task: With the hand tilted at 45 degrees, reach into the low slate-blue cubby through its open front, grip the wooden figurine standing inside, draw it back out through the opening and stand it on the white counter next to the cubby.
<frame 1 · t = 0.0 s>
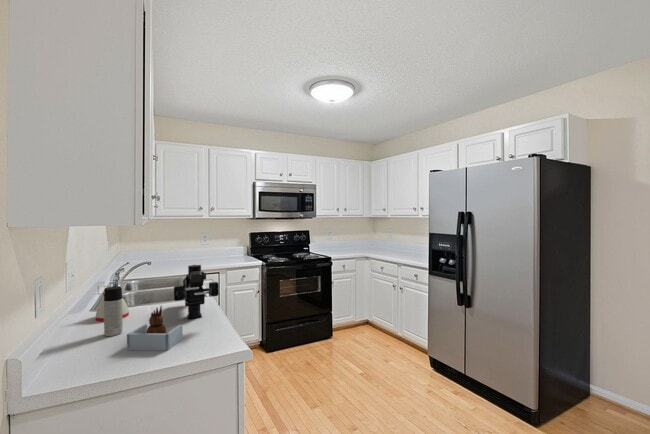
hand: (198, 295, 137), 17 cm above the countertop, tool horizontal, fingers open, 9 cm apart
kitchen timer: (112, 317, 161), on the countertop
cubby: (156, 343, 127), on the countertop
wooden figurine: (156, 344, 127), resting in cubby
spray can: (113, 334, 138), on the countertop
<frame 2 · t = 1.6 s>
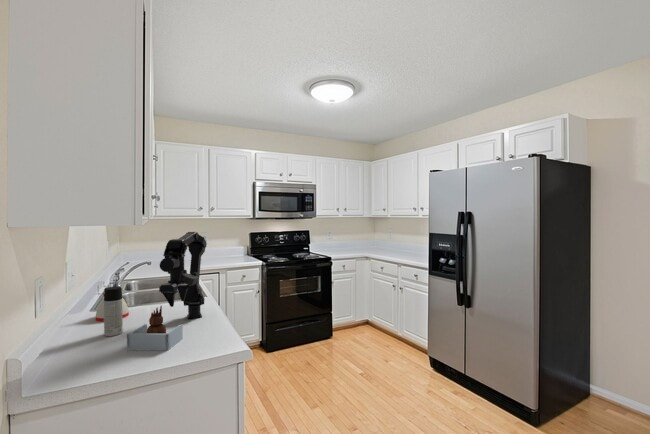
hand: (177, 303, 140), 12 cm above the countertop, tool pointing down, fingers open, 9 cm apart
nothing on the countertop moved.
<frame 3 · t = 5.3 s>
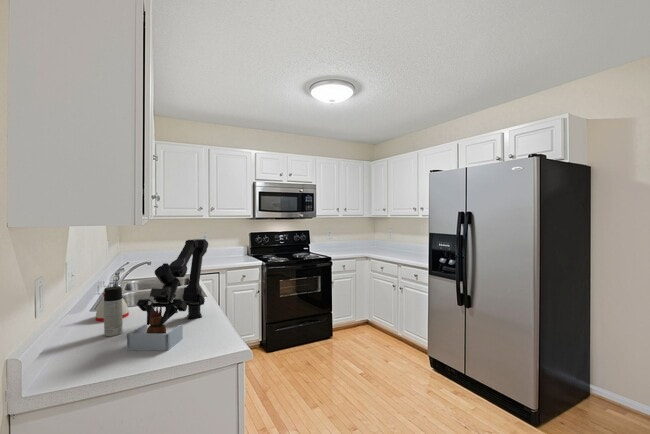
hand: (154, 324, 125), 8 cm above the countertop, tool tilted 45°, fingers closed on wooden figurine, 5 cm apart
wooden figurine: (156, 344, 127), resting in cubby, touching gripper
everything else where it was.
when the fingers open (9 cm above the countertop, at t = 8.6 s): wooden figurine stays where it is, on the countertop.
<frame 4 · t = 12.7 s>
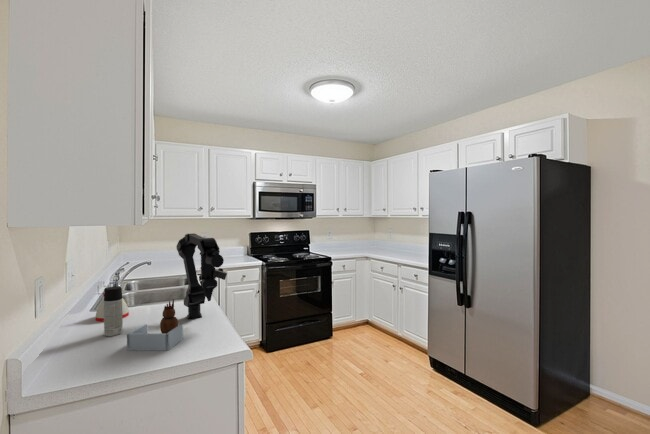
hand: (208, 298, 149), 12 cm above the countertop, tool pointing down, fingers open, 9 cm apart
wooden figurine: (169, 335, 136), on the countertop
everything else where it was.
at the end: wooden figurine inside the target area (0.1 cm from its centre), on the countertop; wooden figurine tilted 0°; the gripper is holding nothing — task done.
